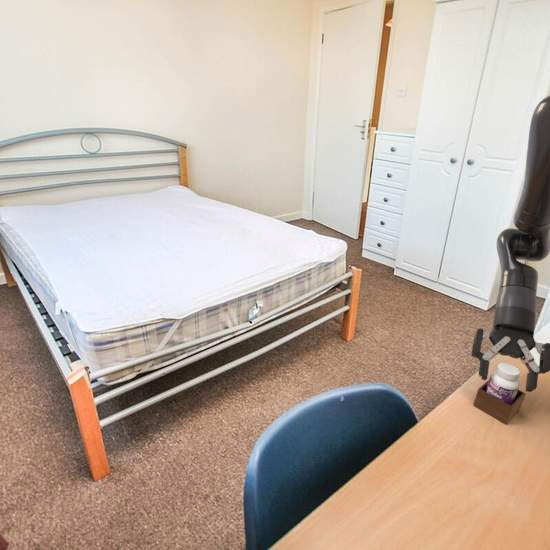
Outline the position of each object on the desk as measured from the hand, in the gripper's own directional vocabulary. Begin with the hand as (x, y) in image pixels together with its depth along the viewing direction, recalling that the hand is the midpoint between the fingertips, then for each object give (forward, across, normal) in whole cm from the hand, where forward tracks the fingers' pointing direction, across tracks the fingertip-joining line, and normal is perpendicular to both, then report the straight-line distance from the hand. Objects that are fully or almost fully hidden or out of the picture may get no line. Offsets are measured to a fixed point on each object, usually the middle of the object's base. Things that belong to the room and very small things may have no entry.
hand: (506, 385), depth 78 cm
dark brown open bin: (+4, 0, +6) cm, 7 cm away
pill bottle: (+4, 0, +6) cm, 7 cm away
